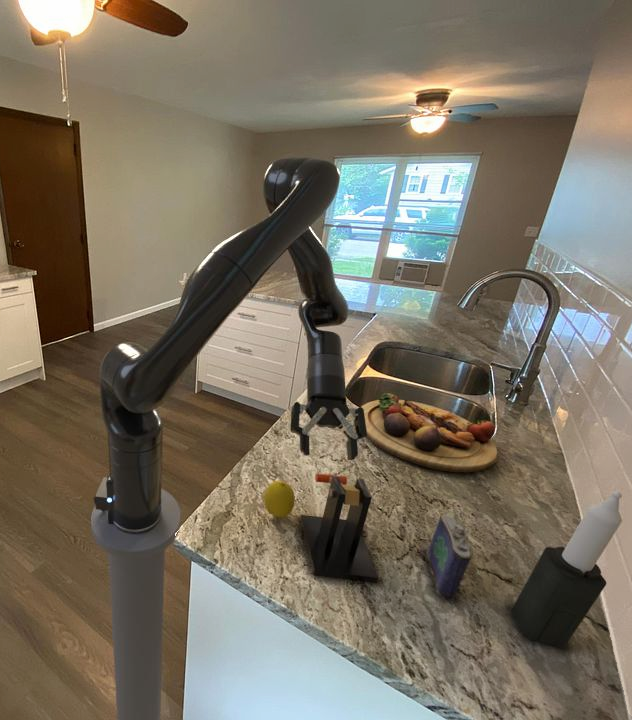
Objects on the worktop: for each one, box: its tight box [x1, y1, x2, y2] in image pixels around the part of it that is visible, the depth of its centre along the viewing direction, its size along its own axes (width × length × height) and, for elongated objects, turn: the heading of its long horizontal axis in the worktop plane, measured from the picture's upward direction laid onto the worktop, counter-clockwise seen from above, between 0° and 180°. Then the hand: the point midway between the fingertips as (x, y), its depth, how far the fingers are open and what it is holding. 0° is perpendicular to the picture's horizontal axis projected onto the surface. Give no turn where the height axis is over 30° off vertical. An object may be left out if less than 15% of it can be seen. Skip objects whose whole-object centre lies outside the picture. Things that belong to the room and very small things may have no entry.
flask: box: [425, 514, 472, 601], centre depth 62 cm, size 9×3×11 cm, turn 162°
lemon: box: [263, 480, 295, 518], centre depth 73 cm, size 6×6×8 cm
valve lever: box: [314, 473, 360, 506], centre depth 68 cm, size 12×5×2 cm, turn 173°
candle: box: [511, 491, 623, 649], centre depth 51 cm, size 5×5×25 cm
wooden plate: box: [360, 392, 499, 473], centre depth 101 cm, size 32×32×8 cm
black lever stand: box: [300, 476, 379, 584], centre depth 65 cm, size 12×10×14 cm
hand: (328, 457), depth 75 cm, fingers open, 8 cm apart
